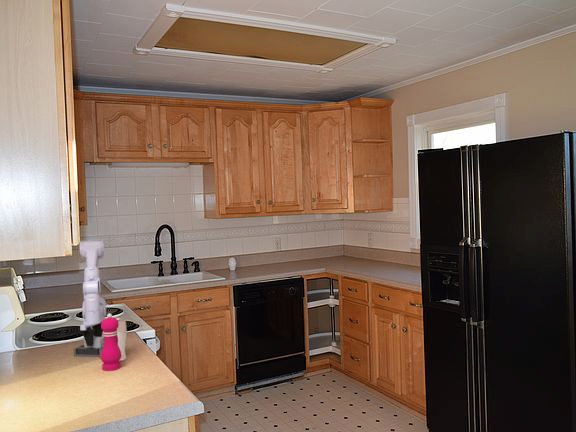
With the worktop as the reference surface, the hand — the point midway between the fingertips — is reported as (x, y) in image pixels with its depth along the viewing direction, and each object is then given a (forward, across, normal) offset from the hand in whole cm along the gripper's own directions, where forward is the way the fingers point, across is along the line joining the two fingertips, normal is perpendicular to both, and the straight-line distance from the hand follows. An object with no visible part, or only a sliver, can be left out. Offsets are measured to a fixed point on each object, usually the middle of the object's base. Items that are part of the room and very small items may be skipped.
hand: (93, 343), depth 201 cm
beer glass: (+4, +7, +14) cm, 16 cm away
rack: (+4, 0, 0) cm, 4 cm away
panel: (+3, 0, 0) cm, 3 cm away
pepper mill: (+4, +17, +17) cm, 24 cm away
